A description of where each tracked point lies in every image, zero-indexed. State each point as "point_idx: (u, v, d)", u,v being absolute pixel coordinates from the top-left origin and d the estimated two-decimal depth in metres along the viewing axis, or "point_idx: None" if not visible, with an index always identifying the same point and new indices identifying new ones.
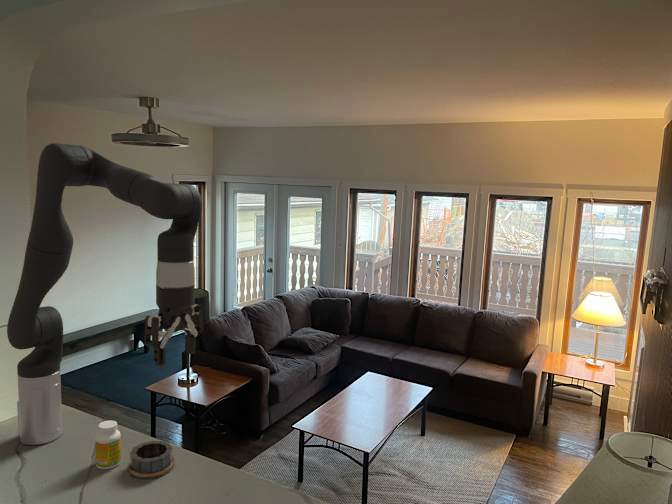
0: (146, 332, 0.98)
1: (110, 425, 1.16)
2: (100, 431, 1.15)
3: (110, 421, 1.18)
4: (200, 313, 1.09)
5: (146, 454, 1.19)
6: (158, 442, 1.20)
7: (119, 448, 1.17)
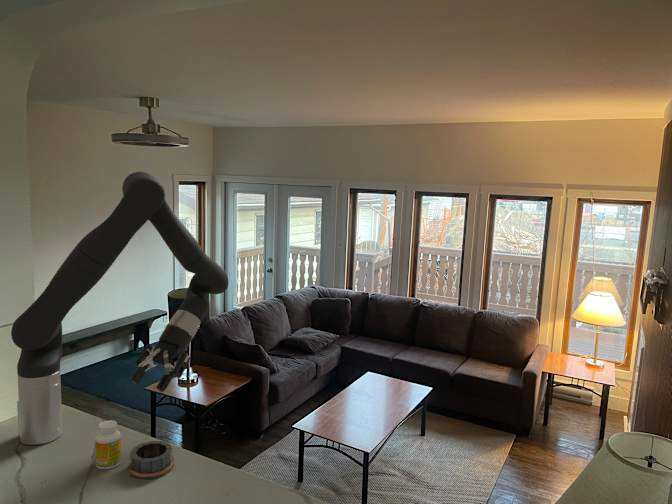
0: (181, 364, 1.26)
1: (110, 425, 1.16)
2: (100, 431, 1.15)
3: (110, 421, 1.18)
4: None
5: (146, 454, 1.19)
6: (158, 442, 1.20)
7: (119, 448, 1.17)
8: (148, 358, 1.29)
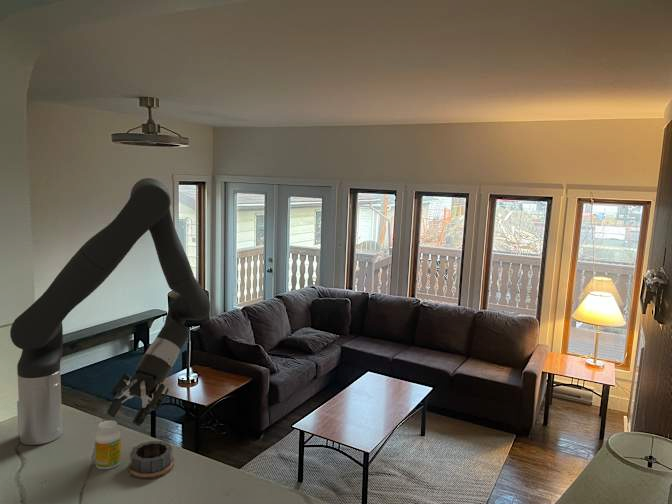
0: (159, 397, 1.21)
1: (110, 425, 1.16)
2: (100, 431, 1.15)
3: (110, 421, 1.18)
4: None
5: (146, 454, 1.19)
6: (158, 442, 1.20)
7: (119, 448, 1.17)
8: (124, 389, 1.24)
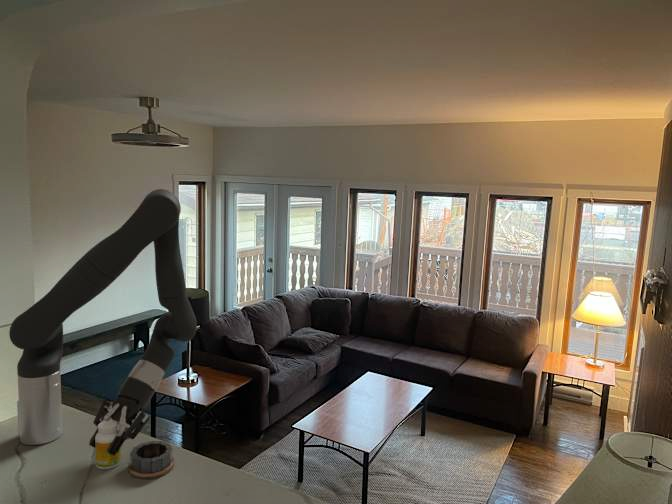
0: (136, 426, 1.16)
1: (110, 425, 1.16)
2: (100, 431, 1.15)
3: (110, 421, 1.18)
4: None
5: (146, 454, 1.19)
6: (158, 442, 1.20)
7: None
8: (107, 416, 1.19)
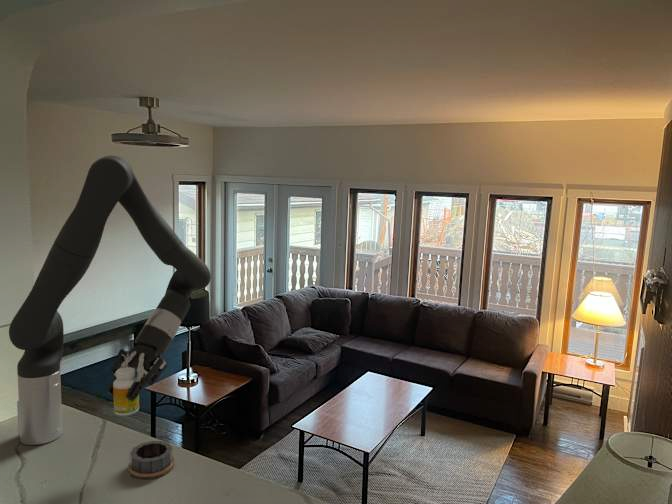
0: (155, 371, 1.14)
1: (128, 371, 1.14)
2: (118, 377, 1.13)
3: (128, 368, 1.16)
4: None
5: (146, 454, 1.19)
6: (158, 442, 1.20)
7: None
8: (124, 364, 1.17)
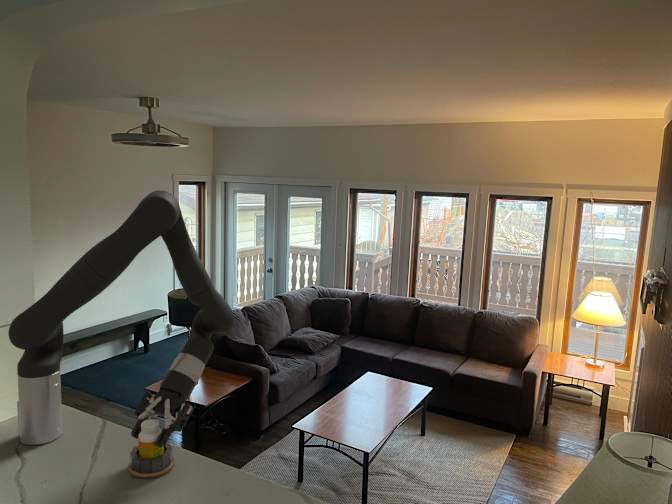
0: (183, 417, 1.15)
1: (153, 424, 1.15)
2: (143, 430, 1.14)
3: (152, 420, 1.17)
4: None
5: None
6: None
7: None
8: (149, 408, 1.18)
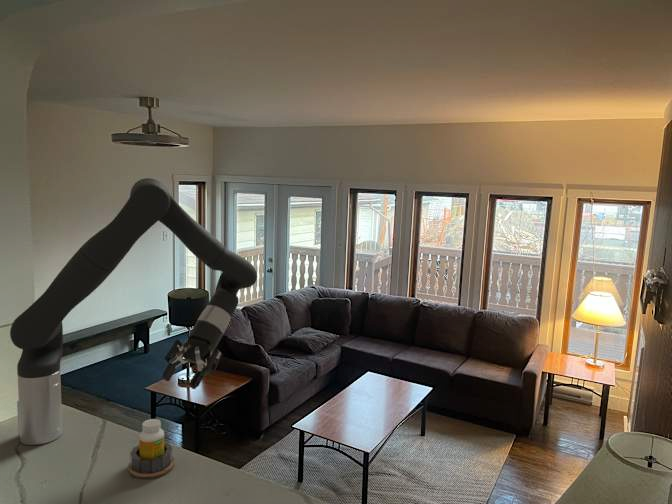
0: (213, 361, 1.23)
1: (154, 423, 1.15)
2: (144, 429, 1.14)
3: (153, 419, 1.17)
4: None
5: None
6: None
7: (163, 446, 1.17)
8: (178, 354, 1.26)
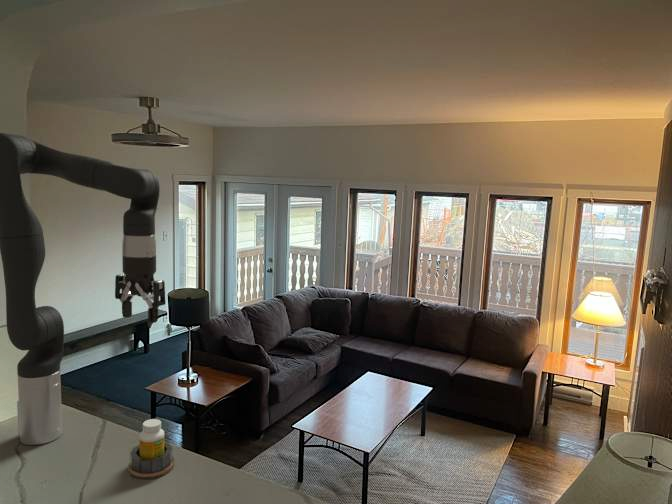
0: (158, 294, 1.18)
1: (155, 423, 1.15)
2: (145, 430, 1.14)
3: (154, 420, 1.17)
4: None
5: None
6: None
7: (163, 447, 1.17)
8: (125, 293, 1.22)
